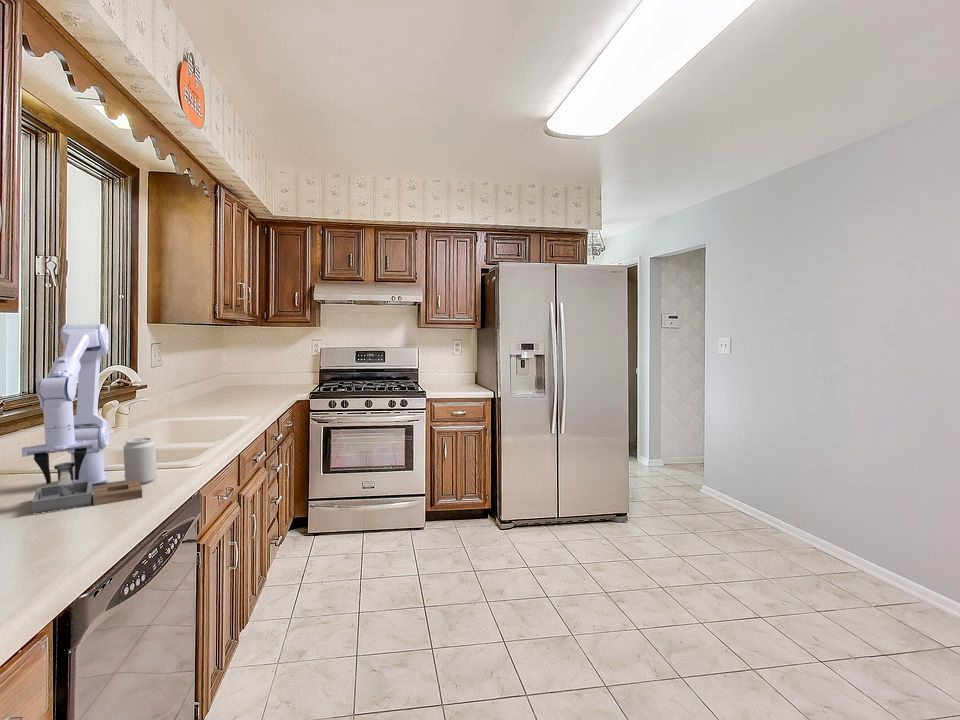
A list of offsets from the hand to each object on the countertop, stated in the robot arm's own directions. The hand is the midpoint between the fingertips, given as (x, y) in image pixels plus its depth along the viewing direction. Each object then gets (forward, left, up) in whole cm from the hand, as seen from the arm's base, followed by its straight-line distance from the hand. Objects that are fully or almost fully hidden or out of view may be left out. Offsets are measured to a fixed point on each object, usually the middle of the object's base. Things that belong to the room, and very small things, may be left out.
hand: (63, 480), depth 132 cm
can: (-9, +16, -6) cm, 20 cm away
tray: (0, 0, -5) cm, 5 cm away
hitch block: (+2, +11, -5) cm, 12 cm away
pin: (0, +1, -5) cm, 5 cm away
